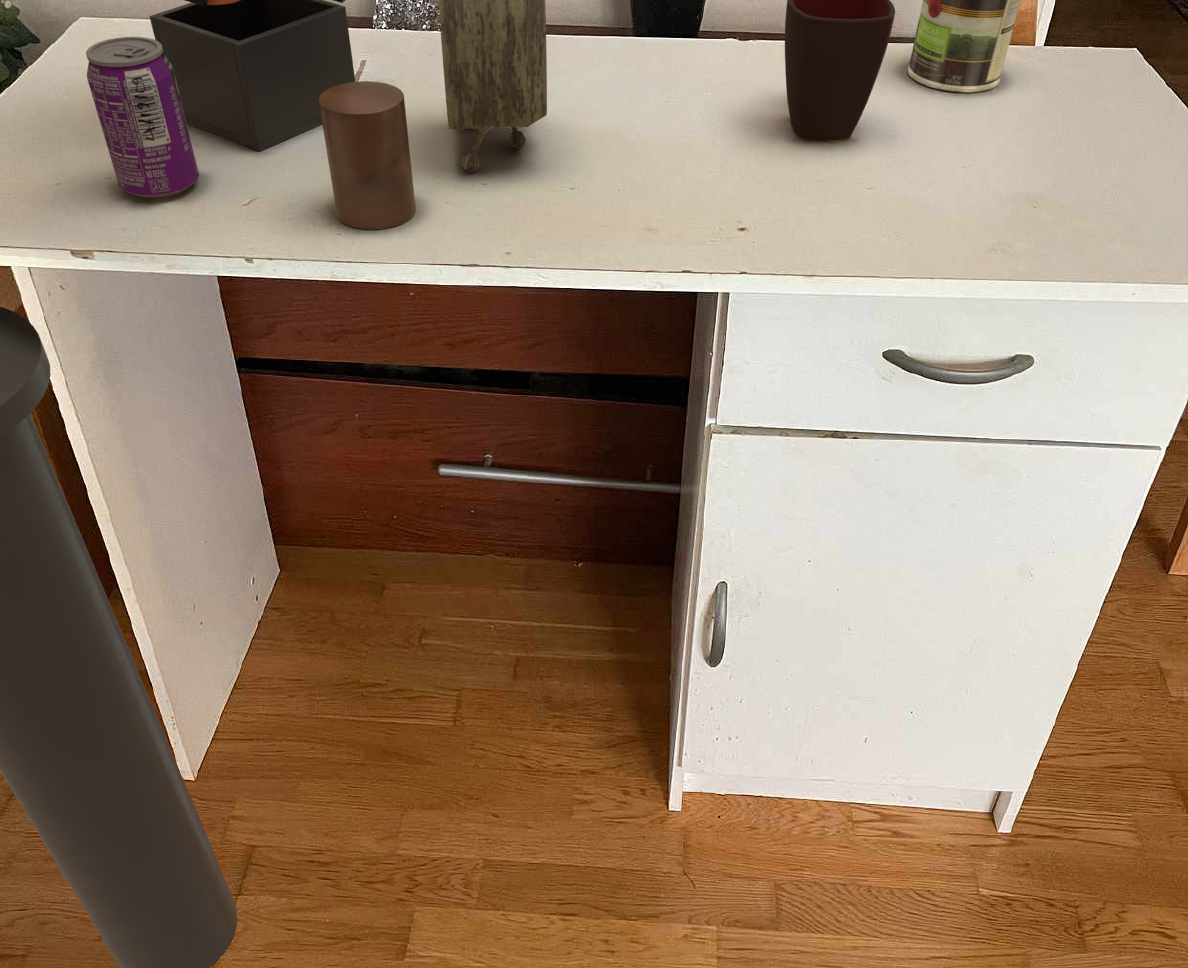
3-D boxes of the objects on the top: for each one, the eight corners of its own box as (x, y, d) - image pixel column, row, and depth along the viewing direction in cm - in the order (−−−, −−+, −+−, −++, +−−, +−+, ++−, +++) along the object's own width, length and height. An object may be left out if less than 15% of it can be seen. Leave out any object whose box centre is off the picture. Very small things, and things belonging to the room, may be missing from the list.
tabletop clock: (450, 119, 114) (428, -172, 96) (539, 117, 115) (533, -173, 97) (452, 182, 104) (427, -131, 86) (549, 179, 105) (544, -132, 87)
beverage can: (214, 173, 104) (182, 38, 96) (178, 207, 100) (142, 68, 91) (144, 166, 105) (106, 31, 97) (106, 199, 100) (63, 60, 92)
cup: (780, 151, 110) (798, 20, 101) (759, 96, 120) (773, -27, 111) (880, 150, 110) (905, 20, 102) (850, 96, 120) (871, -27, 111)
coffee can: (947, 99, 120) (981, -47, 110) (888, 67, 126) (915, -74, 116) (1021, 84, 123) (1060, -60, 113) (959, 53, 129) (991, -85, 119)
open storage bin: (259, 151, 108) (238, 45, 101) (174, 119, 113) (149, 15, 106) (359, 108, 116) (345, 6, 109) (275, 79, 121) (257, -20, 114)
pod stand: (377, 237, 96) (361, 120, 89) (320, 214, 99) (300, 99, 92) (432, 208, 100) (421, 94, 93) (375, 186, 103) (360, 74, 96)
